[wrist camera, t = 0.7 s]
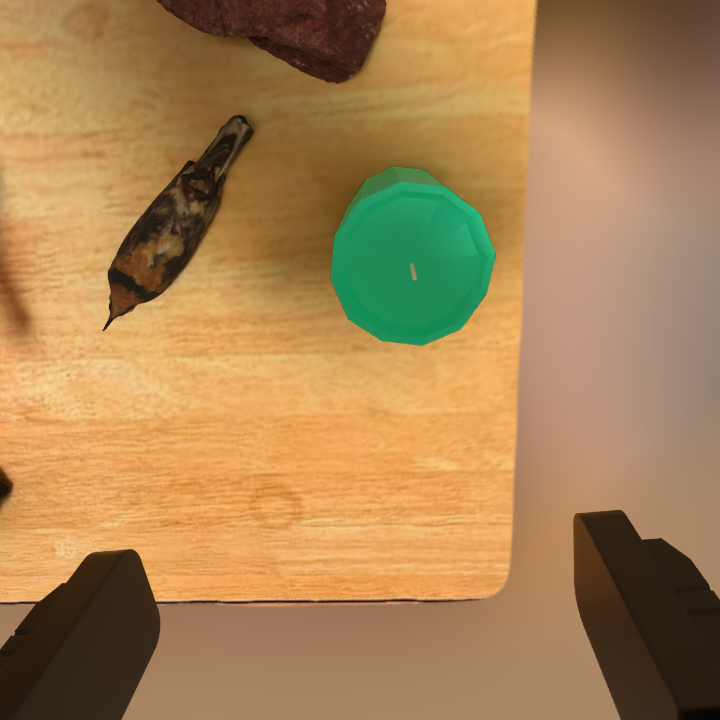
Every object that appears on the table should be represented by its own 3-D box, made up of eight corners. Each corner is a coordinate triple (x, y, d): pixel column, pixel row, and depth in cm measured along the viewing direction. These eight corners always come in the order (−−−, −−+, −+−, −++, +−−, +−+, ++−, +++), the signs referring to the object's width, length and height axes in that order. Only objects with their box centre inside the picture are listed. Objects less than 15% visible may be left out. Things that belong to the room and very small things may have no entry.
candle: (392, 300, 31) (398, 392, 20) (322, 216, 30) (288, 265, 18) (480, 233, 30) (540, 291, 19) (412, 140, 28) (433, 142, 17)
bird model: (88, 295, 32) (63, 308, 29) (232, 103, 28) (217, 99, 25) (134, 331, 32) (114, 348, 30) (281, 150, 28) (272, 151, 26)
